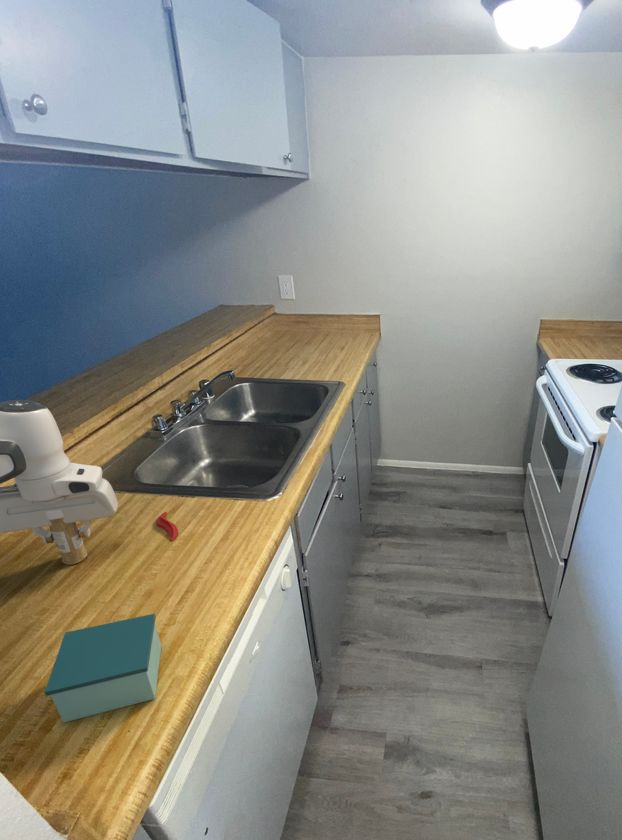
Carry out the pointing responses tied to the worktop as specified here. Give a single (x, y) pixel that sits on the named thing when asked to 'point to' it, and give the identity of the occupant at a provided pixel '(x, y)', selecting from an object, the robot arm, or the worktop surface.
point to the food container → (105, 668)
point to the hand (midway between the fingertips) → (68, 538)
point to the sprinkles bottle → (66, 538)
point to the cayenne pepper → (167, 526)
